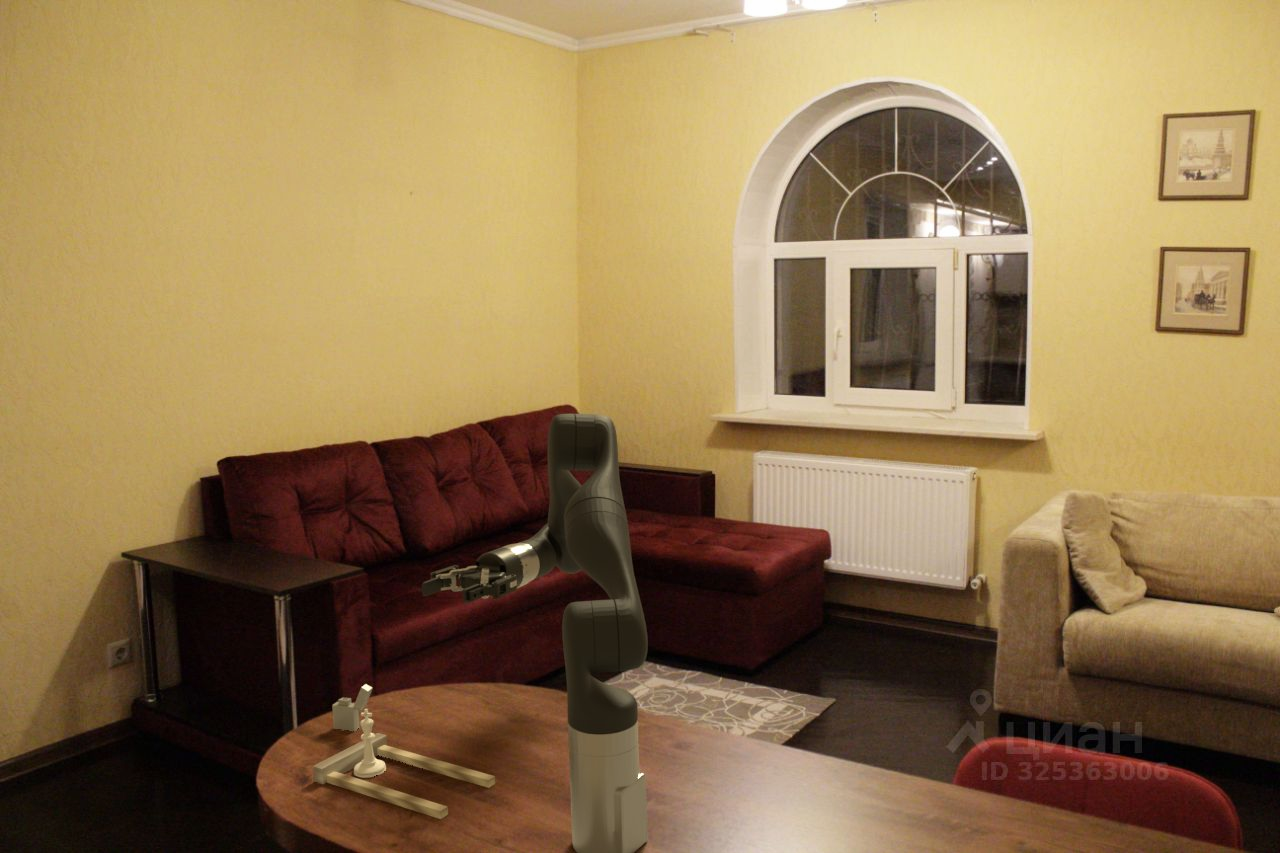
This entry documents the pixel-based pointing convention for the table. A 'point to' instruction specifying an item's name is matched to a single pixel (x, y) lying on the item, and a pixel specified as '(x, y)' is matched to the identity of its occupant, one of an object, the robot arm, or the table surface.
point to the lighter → (350, 710)
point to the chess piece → (368, 752)
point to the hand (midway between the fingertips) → (443, 593)
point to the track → (353, 755)
